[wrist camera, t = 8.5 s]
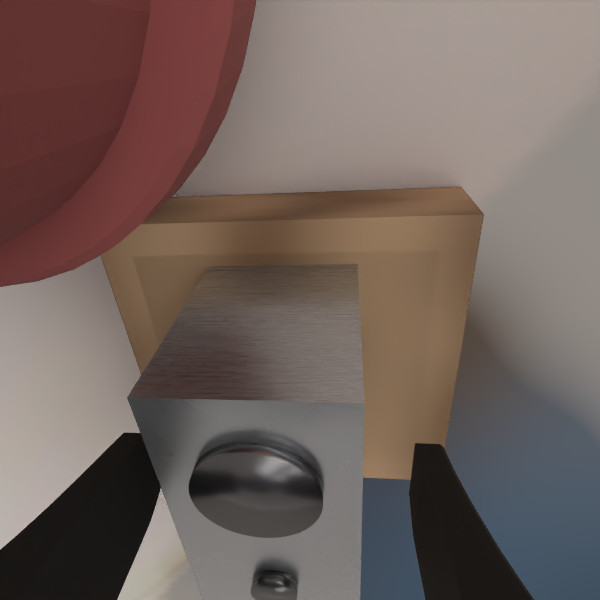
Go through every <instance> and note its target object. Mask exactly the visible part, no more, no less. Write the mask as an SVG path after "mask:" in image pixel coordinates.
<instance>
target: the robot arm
mask: <svg viewBox="0 0 600 600" xmlns="http://www.w3.org/2000/svg"><path fill="white" fill-rule="evenodd" d="M160 488H161V486H160V484H159V481H158V478H157V476H156V473H155V470H154V468H153V465H152V462H151V460H150V457H149V454H148V452H147V449H146V446H145V443H144V441H143V438H142V435H141V433H123V434H122V435H121V436H120V437H119V438H118V439H117V440H116V441H115V442H114V443H113V444H112V445H111V446H110V447H109V448H108V449H107V450H106V451H105V452H104V453H103V454H102V455H101V456H100V457H99V458H98V459H97V460H96V461H95V462H94V463H93V464H92V465H91V466H90V467H89V468H88V469H87V470H86V471H85V472H84V473H83V474H82V475H81V476H80V477H79V478H78V479H77V480H76V481H75V482H74V483H73V484H72V485H71V486H69V487H68V488H67V489H66V490H65V491H64V492H63V493H62V494H61V495H60V496H59V497H58V498H57V499H56V500H55V501H54V502H53V503H52V504H51V505H50V506H49V507H48V508H47V509H46V510H44V511H43V512H42V513H41V514H40V515H39V516H38V517H37V518H36V519H35V520H33V521H32V522H31V523H30V524H29V525H28V526H27V527H26V528H25V529H23V530H22V531H21V532H20V533H19V534H18V535H17V536H16V537H15V538H14V539H12V540H11V541H10V542H9V543H8V544H7V545H5V546H4V547H3V548H2V549H1V550H0V600H117V598H118V596H119V594H120V591H121V589H122V587H123V584H124V582H125V580H126V577H127V575H128V573H129V570H130V568H131V566H132V564H133V561H134V559H135V557H136V554H137V552H138V550H139V547H140V545H141V543H142V540H143V538H144V535H145V533H146V531H147V528H148V526H149V523H150V521H151V518H152V515H153V512H154V509H155V506H156V502H157V499H158V495H159V492H160ZM409 496H410V507H411V517H412V528H413V536H414V542H415V547H416V553H417V558H418V563H419V568H420V574H421V578H422V583H423V589H424V593H425V599H426V600H534V599H533V598H532V596H531V595H530V593H529V592H528V590H527V589H526V587H525V586H524V585H523V583H522V582H521V580H520V579H519V577H518V576H517V575H516V573H515V571H514V570H513V568H512V567H511V565H510V564H509V562H508V561H507V559H506V558H505V556H504V555H503V553H502V552H501V550H500V549H499V547H498V546H497V544H496V542H495V541H494V539H493V538H492V536H491V534H490V533H489V531H488V529H487V528H486V526H485V524H484V523H483V521H482V519H481V518H480V516H479V514H478V513H477V511H476V509H475V508H474V506H473V504H472V502H471V501H470V499H469V497H468V495H467V493H466V491H465V490H464V488H463V486H462V484H461V482H460V480H459V478H458V476H457V475H456V473H455V471H454V469H453V467H452V464H451V463H450V460H449V458H448V456H447V454H446V451H445V449H444V447H443V446H442V445H440V444H426V443H415V447H414V455H413V464H412V473H411V482H410V492H409Z"/></svg>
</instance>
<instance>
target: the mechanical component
mask: <svg viewBox="0 0 600 600" xmlns="http://www.w3.org/2000/svg"><path fill="white" fill-rule="evenodd" d="M255 6H256V0H0V287H3V286H9V285H16V284H22V283H28V282H35V281H40V280H43V279H46V278H49V277H52V276H55V275H58V274H61V273H64V272H67V271H70V270H73V269H75V268H77V267H79V266H81V265H83V264H85V263H86V262H88V261H90V260H92V259H94V258H96V257H97V256H99V255H101V254H103V253H105V252H107V251H108V250H110V249H111V248H112V247H114V246H115V245H117V244H118V243H119V242H121V241H122V240H123V239H124V238H126V237H127V236H128V235H129V234H130V233H131V232H132V231H134V230H135V229H136V228H137V227H138V226H139V225H141V224H142V223H143V222H144V221H145V220H146V219H147V218H149V217H150V216H151V215H152V214H153V213H154V212H155V211H156V210H157V209H158V208H160V207H161V206H162V205H163V204H164V203H165V202H166V201H167V200H168V199H169V198H170V197H171V196H172V195H173V194H174V193H175V192H177V191H178V190H179V189H180V187H181V186H182V185H183V183H184V182H185V181H186V179H187V178H188V177H189V175H190V174H191V173H192V171H193V170H194V169H195V167H196V166H197V165H198V163H199V162H200V161H201V159H202V158H203V157H204V155H205V153H206V152H207V150H208V148H209V146H210V144H211V142H212V140H213V138H214V136H215V134H216V133H217V131H218V129H219V127H220V125H221V123H222V121H223V119H224V117H225V115H226V113H227V110H228V107H229V104H230V101H231V99H232V96H233V93H234V90H235V87H236V84H237V82H238V79H239V76H240V73H241V70H242V67H243V64H244V59H245V54H246V49H247V45H248V40H249V35H250V30H251V26H252V21H253V16H254V11H255Z"/></svg>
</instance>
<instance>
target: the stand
mask: <svg viewBox="0 0 600 600" xmlns="http://www.w3.org/2000/svg"><path fill="white" fill-rule="evenodd" d="M483 217H484V214H483V213H482V211H481V210H480V209H479V208H478V207H477V205H476V204H475V203H474V202H473V200H472V199H471V198H470V197H469V196H468V194H467V193H466V192H465V191H464V189H463V188H462V187H447V188H419V189H391V190H364V191H336V192H309V193H281V194H254V195H226V196H199V197H171V198H169V199H168V200H167V201H166V202H165V203H164V204H163V205H162V206H161V207H160V208H158V209H157V210H156V211H155V212H154V213H153V214H152V215H151V216H150V217H149V218H147V219H146V220H145V221H144V222H143V223H142V224H141V225H139V226H138V227H137V228H136V229H135V230H134V231H132V232H131V233H130V234H129V235H128V236H127V237H126V238H124V239H123V240H122V241H121V242H119V243H118V244H117V245H115V246H114V247H112V248H111V249H110V250H108V251H107V252H105V253H103V254H101V258H102V261H103V264H104V267H105V270H106V273H107V276H108V279H109V281H110V284H111V287H112V290H113V293H114V296H115V299H116V302H117V305H118V308H119V311H120V314H121V317H122V320H123V323H124V325H125V328H126V331H127V334H128V337H129V340H130V343H131V346H132V349H133V352H134V355H135V358H136V361H137V364H138V367H139V369H140V372H141V375H142V373H143V372H144V370H145V368H146V367H147V365H148V364H149V362H150V360H151V359H152V357H153V356H154V354H155V352H156V351H157V349H158V348H159V346H160V344H161V343H162V341H163V340H164V338H165V336H166V335H167V333H168V332H169V330H170V328H171V327H172V325H173V324H174V322H175V320H176V319H177V317H178V316H179V314H180V312H181V311H182V309H183V308H184V306H185V304H186V303H187V301H188V300H189V298H190V296H191V295H192V293H193V292H194V290H195V288H196V287H197V285H198V284H199V282H200V280H201V279H202V277H203V275H204V274H205V272H206V271H207V269H208V267H209V266H249V265H319V264H358V282H359V302H360V322H361V342H362V362H363V382H364V402H365V406H364V450H363V477H364V478H365V477H366V478H387V479H411V473H412V464H413V455H414V447H415V443H426V444H440V445H442V446H443V447H444V449H445V443H446V437H447V431H448V425H449V419H450V413H451V407H452V401H453V395H454V389H455V384H456V378H457V372H458V366H459V359H460V354H461V348H462V341H463V335H464V329H465V324H466V318H467V312H468V306H469V300H470V294H471V288H472V282H473V276H474V270H475V264H476V258H477V251H478V246H479V240H480V234H481V228H482V223H483Z"/></svg>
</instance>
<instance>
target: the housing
mask: <svg viewBox="0 0 600 600" xmlns="http://www.w3.org/2000/svg"><path fill="white" fill-rule="evenodd" d="M127 398H128V401H129V403H130V406H131V409H132V411H133V414H134V417H135V419H136V422H137V425H138V427H139V430H140V433H141V435H142V438H143V441H144V443H145V446H146V449H147V452H148V454H149V457H150V460H151V462H152V465H153V468H154V470H155V473H156V476H157V478H158V481H159V484H160V486H161V489H162V492H163V494H164V497H165V500H166V502H167V505H168V508H169V510H170V513H171V516H172V518H173V521H174V524H175V526H176V529H177V532H178V534H179V537H180V540H181V542H182V545H183V548H184V550H185V553H186V556H187V558H188V561H189V564H190V566H191V569H192V572H193V574H194V577H195V580H196V582H197V585H198V588H199V590H200V593H201V596H202V598H203V600H360V580H361V579H360V578H361V537H362V494H363V450H364V406H365V402H364V382H363V362H362V342H361V322H360V302H359V282H358V264H319V265H249V266H209V267H208V269H207V271H206V272H205V274H204V275H203V277H202V279H201V280H200V282H199V284H198V285H197V287H196V288H195V290H194V292H193V293H192V295H191V296H190V298H189V300H188V301H187V303H186V304H185V306H184V308H183V309H182V311H181V312H180V314H179V316H178V317H177V319H176V320H175V322H174V324H173V325H172V327H171V328H170V330H169V332H168V333H167V335H166V336H165V338H164V340H163V341H162V343H161V344H160V346H159V348H158V349H157V351H156V352H155V354H154V356H153V357H152V359H151V360H150V362H149V364H148V365H147V367H146V368H145V370H144V372H143V373H142V375H141V376H140V378H139V380H138V381H137V383H136V384H135V386H134V388H133V389H132V391H131V392H130V394H129V396H128V397H127Z"/></svg>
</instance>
